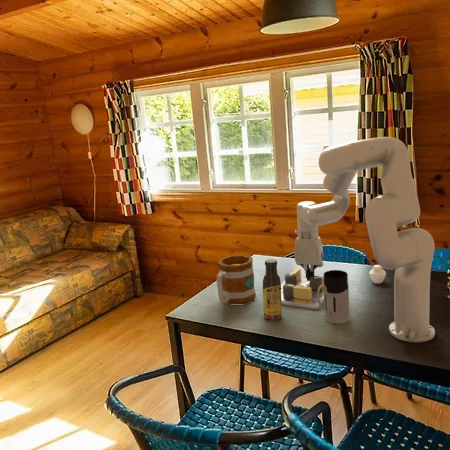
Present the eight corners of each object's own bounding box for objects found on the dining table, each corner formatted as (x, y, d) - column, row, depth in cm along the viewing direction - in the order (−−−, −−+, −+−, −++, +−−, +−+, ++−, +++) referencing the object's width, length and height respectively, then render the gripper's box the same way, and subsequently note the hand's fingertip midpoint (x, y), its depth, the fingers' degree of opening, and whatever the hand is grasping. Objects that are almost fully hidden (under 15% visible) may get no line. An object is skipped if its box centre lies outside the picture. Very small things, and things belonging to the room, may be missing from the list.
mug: (232, 289, 180) (228, 253, 176) (262, 293, 173) (259, 256, 169) (205, 309, 164) (201, 270, 160) (237, 314, 157) (234, 274, 153)
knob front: (281, 297, 163) (280, 286, 162) (286, 293, 167) (285, 282, 166) (308, 301, 158) (308, 290, 157) (313, 296, 162) (312, 285, 161)
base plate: (317, 309, 155) (317, 299, 154) (264, 301, 165) (264, 292, 164) (337, 286, 173) (336, 277, 172) (288, 280, 183) (288, 272, 182)
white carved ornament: (387, 284, 170) (387, 267, 169) (370, 285, 171) (370, 267, 170) (384, 278, 176) (384, 261, 175) (368, 279, 177) (367, 262, 176)
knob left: (294, 287, 171) (293, 277, 170) (283, 286, 173) (282, 276, 172) (304, 278, 180) (303, 268, 179) (293, 277, 182) (293, 267, 181)
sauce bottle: (267, 322, 149) (263, 265, 144) (261, 314, 155) (256, 259, 150) (286, 318, 151) (282, 261, 146) (278, 311, 157) (275, 256, 152)
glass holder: (356, 315, 148) (354, 272, 144) (331, 332, 139) (329, 286, 135) (333, 309, 154) (331, 267, 151) (307, 324, 145) (305, 280, 141)
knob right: (310, 290, 167) (310, 279, 166) (309, 286, 171) (308, 275, 170) (339, 289, 166) (339, 278, 165) (337, 284, 170) (336, 273, 169)
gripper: (285, 235, 171) (288, 281, 176) (324, 238, 164) (325, 285, 168) (293, 230, 177) (295, 274, 182) (330, 232, 170) (332, 278, 174)
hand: (310, 279), depth 175 cm, fingers closed
